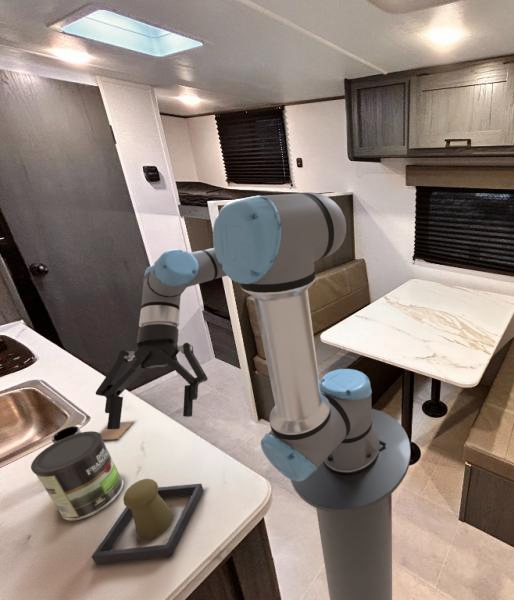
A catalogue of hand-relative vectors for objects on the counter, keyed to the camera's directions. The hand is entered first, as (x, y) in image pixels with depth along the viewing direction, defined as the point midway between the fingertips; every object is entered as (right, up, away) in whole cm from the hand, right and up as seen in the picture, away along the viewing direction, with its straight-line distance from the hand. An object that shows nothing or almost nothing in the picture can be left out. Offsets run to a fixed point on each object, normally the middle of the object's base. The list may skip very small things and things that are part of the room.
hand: (151, 422), depth 67 cm
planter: (-25, -14, +10) cm, 30 cm away
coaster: (-26, -10, +19) cm, 34 cm away
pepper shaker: (+3, -20, -3) cm, 20 cm away
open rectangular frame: (+3, -20, -3) cm, 20 cm away
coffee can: (-15, -18, +3) cm, 23 cm away
